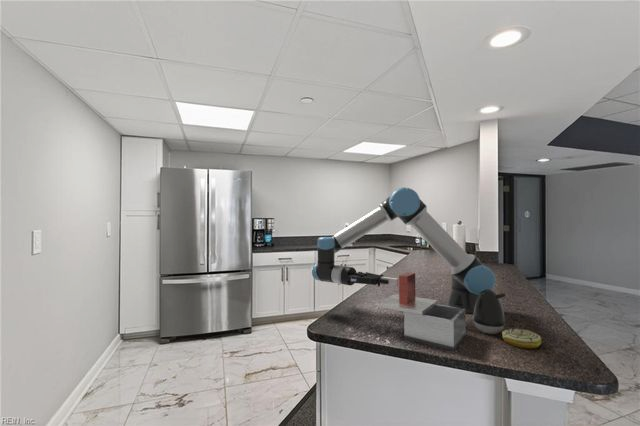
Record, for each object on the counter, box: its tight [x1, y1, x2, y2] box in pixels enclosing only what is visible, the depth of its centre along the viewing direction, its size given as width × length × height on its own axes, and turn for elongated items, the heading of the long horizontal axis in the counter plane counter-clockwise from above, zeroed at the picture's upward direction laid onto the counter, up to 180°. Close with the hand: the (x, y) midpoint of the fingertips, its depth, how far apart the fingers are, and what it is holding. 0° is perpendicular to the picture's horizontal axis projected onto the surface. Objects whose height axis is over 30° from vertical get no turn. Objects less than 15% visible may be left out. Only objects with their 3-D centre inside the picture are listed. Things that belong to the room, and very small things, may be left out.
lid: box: [376, 272, 439, 315], centre depth 113 cm, size 17×17×11 cm
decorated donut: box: [501, 328, 542, 350], centre depth 101 cm, size 10×11×4 cm
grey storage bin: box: [403, 303, 467, 351], centre depth 107 cm, size 16×16×9 cm
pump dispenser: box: [472, 289, 506, 335], centre depth 111 cm, size 10×10×15 cm
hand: (397, 282), depth 115 cm, fingers closed
